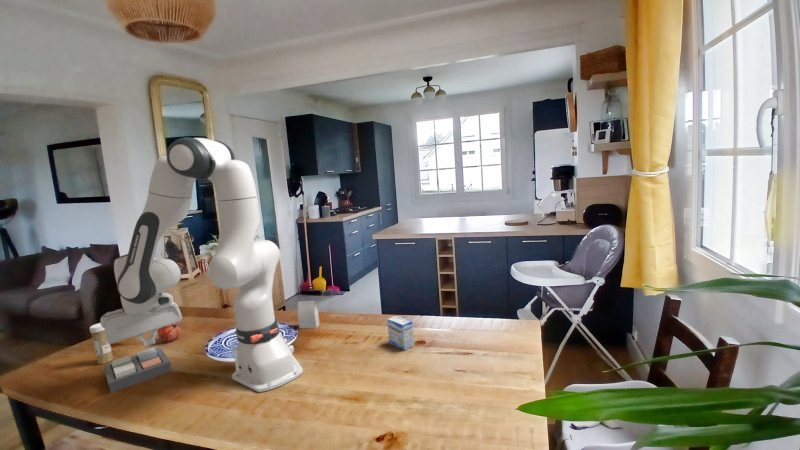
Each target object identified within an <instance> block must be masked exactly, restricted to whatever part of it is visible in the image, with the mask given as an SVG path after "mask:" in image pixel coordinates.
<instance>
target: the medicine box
mask: <svg viewBox="0 0 800 450" xmlns="http://www.w3.org/2000/svg"><path fill="white" fill-rule="evenodd" d="M386 320H387V331H388V342H389V344H390V345H392V346H393V347H396V348H398V349H401V350H403V351H407V350H409V349H411V348H413V347H414V346H415V336H414V335H415V333H414V322H413V321H412V320H410V319H407V318H404V317H401V316H398V315H394V316H392V317H390V318H388V319H386Z"/></svg>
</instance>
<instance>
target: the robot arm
mask: <svg viewBox="0 0 800 450" xmlns="http://www.w3.org/2000/svg"><path fill="white" fill-rule="evenodd" d="M166 150H167V151H166V155H164V156H161V157H158V159H157V160H156V162H155V164H154V166H153V170H152V172H151V176H150V180H149V185H148V192H147V198H146V202H145V206H144V207H143V210H142V212H141V214H140V216H139V218H138V220H136V221H137V222H136V223H135V226H134V228H133V233H132V237H131V242H130V244H129V250H128V253H126V254H123V255H120V256H118V257H117V258H116V259H115V260H114V263H113V273H114V277H115V282H116V288H117V291H118V294H119V296H120V302H121V305H122V308H120V309H116V310H113V311H107V312H106V313H105V314H103V315H102V316H101V317H100V320H99V321H100V322H99V323H101V326H102V327H103V328H105V335H106V340H107V342H108V343H110V345H111V344H115V343H118V342H121V341H124V340H128V339H131V338H134V337H136V336H137V338H138V339H139V340H140V341H141V342H143V346H144V347H145V348H146V347H149V346H152V345H155V344H156V339H155V338H156V337H157V335H158V333H157V331H158V329H159V328H162V327H165V326H168V325H171V324H174V323H176V324H177V323H180V322H182V319H183V316H182V312H181V310H180V308H179V306H178V304H177V303H176V302H175V301H174V296H173V295H172V294H171V293H168V292H167V290H169V289H172V288H173V287H175V286H176V285H178V284H179V282H180V281H181V279H182V270H181V268H180V266H179V265H178V263H177V262H176V261H174V260H172V259H170V258H160V257H155V254H156V250H157V246H158V243H159V242H160V240H161V238H162V236H163V235H165V234H166V233H167V232H169V230H171V229H172V228H173V227H175V226H176V225H177V224H179V223H181V222H183V220H185V219H186V217H187V216H188V214H189V211H190V208H191V204H192V199H193V198H192V197H193V191H194V190H193V189H194V184H195V182H196V181H197V180H200V181H206V180H208V181H210V182H211V183H212V185H213V187H214V191H215V197H216V198H215V199H216V205H217V211H218V220H219V236H218V241H217V246H216V250H215V253H214V255H213V257H212V258H211V260H210V261H209V263H208V265H207V276H208V278H209V280H210V282H211V284H212V285H214V286H215V287H217V288H218V289H220V290H230V289H235V288H239V289H238V292H237V294H236V297H235V298H234V301H233V310H234V316H235V322H236V323H235V324H236V328H235V336H236V339H237V341H238V342H237V344H236V346H235V348H234V349H233V352H234V361H235V364H234V365H235V371H234V372H233V373H232V374H231V379H232V380H234V381H235V382H237V383H239V384H241V385H243V386H245V387H246V388H247V387H248V388H249V389H251V390H253V391H255V392H258V393H262V392H267V391H270V390H273V389H277V388H278V387H281V386H283V385H285V384H288V383H289V382H291V381H293V380H294V379H297V378H298V377H299V376H301V375H302V374H303V372H304V369H303V367H302V365H300V363H299V361H298V360H297V359H296V357H295V356H294V355H293V354H294V352H295V348H294V346H293V345H288V344H287V343H288V339H287V338H284V337H283V335H282V332H281V331H280V328H279V323H278V321H277V319H276V317H275V309H274V303H273V302H274V301H273V289H274V288H273V284H274V280H275V279H274V278H275V272H276V268H277V267H278V264H279V262H280V260H281V252H280V249H279V247H278V246H277V244H276V243H275V242H273V241H271V240H268V239H257V240H255V237H256V232H257V230H258V228H259V227H260V224H261V214H260V207H259V201H258V193H257V189H256V188H257V187H256V183H255V179H254V176H253V173H252V171H251V168H250V166H249V164H248V163H246V162H244V161H242V160H240V159H236V157H235V153H234V151H233V149H232V148H231V147H230V145H228V144H226V143H224V142H222V141H219V140H212V139H209V138H205V137H189V136H188V137H183V138H178V139H176V140H174V141H172V143H171V144H169V146H168V147H167V149H166ZM149 332H150V333H151V337H149V338H146V339H145V338H143V337H144V334H146V333H149Z"/></svg>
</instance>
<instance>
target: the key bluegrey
mask: <svg viewBox="0 0 800 450" xmlns="http://www.w3.org/2000/svg"><path fill="white" fill-rule="evenodd" d="M155 349H156V348H155V347H151V348H148V349H147V348H146V349H144V350H141V351H139V352H136V355H137V357H138V360H139V362H141V361H144V360H147V359H150V358H153V357H156V356H158V355H157V351H156V350H155Z"/></svg>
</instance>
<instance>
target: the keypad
mask: <svg viewBox="0 0 800 450" xmlns="http://www.w3.org/2000/svg"><path fill="white" fill-rule="evenodd" d="M155 350H156V351H157V355H158V356H156V357H153V358H150V359H147V360H144V361H141V362H139V360H138V357H137V354H134V355H132V356H130V357H131V359H132V362H133V364H134V366H135V369H136V372H135V373H132V374H129V375H126V376H123V377H120V378H118V379H116V377H115V373H114V371H113V368H112V363H106V364H105V365H104V364H103V368H104V373H105V377H106V381H107V385H108V388H109V391H110V394H112V393H115V392H118V391H121V390H123V389H126V388H129V387H131V386H134V385H137V384H140V383H143V382H144V381H148V380H151V379H154V378H156V377H159V376H161V375H164V374H167V373H169V372H172V371H173V369H172V363H171V361H170V359H169V358H168V356H167V355H166V353H165V352H164V350H163V349H162V347H156V348H155ZM157 357H159V358H160V360H161V361H162V363H160V364H157V365H154V366H152V367H149V368H146V369H143V370H142V366H141V363H142V362H145V361H148V360H151V359H154V358H157ZM158 375H159V376H158Z"/></svg>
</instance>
